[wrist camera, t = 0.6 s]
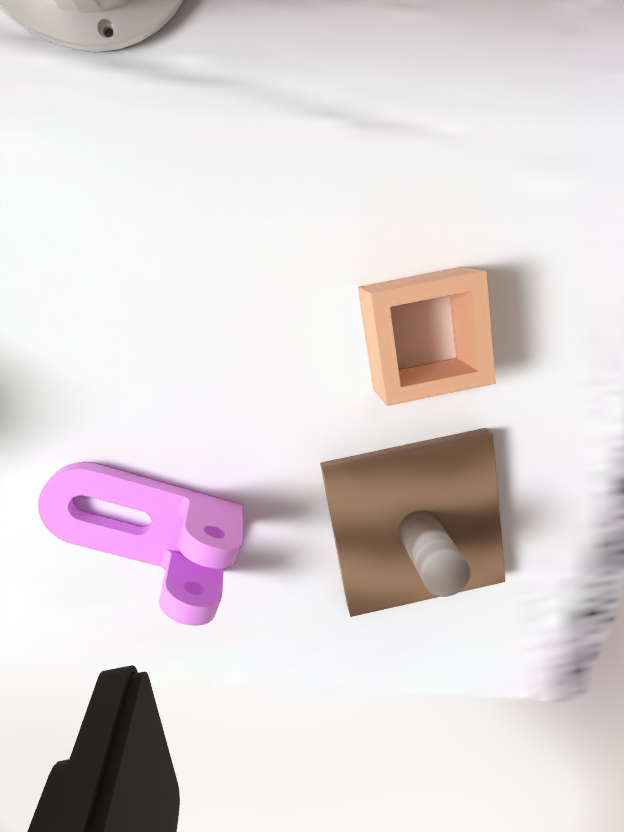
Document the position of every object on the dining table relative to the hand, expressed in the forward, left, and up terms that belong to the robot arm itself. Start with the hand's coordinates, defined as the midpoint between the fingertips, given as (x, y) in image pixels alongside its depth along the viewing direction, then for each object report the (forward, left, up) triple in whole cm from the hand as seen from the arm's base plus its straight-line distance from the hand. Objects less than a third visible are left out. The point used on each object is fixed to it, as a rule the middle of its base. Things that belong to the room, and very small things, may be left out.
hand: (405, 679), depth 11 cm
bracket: (+9, -12, -30) cm, 33 cm away
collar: (0, +9, -29) cm, 31 cm away
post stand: (+14, +7, -29) cm, 33 cm away
